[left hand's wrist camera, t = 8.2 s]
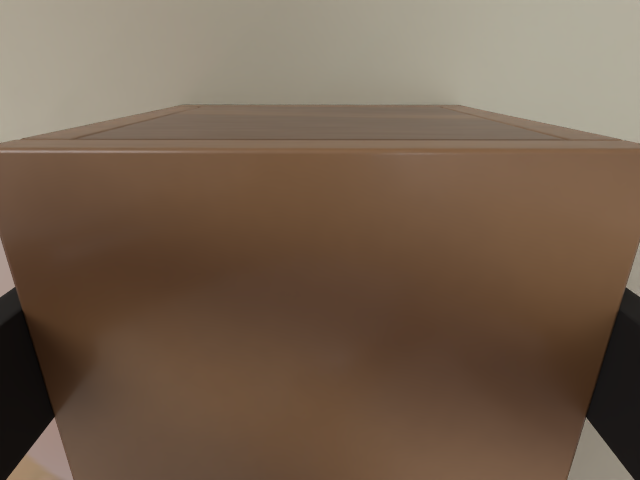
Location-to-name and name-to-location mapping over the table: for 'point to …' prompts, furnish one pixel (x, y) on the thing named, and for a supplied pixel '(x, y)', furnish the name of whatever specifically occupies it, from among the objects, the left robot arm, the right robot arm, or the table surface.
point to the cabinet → (320, 289)
